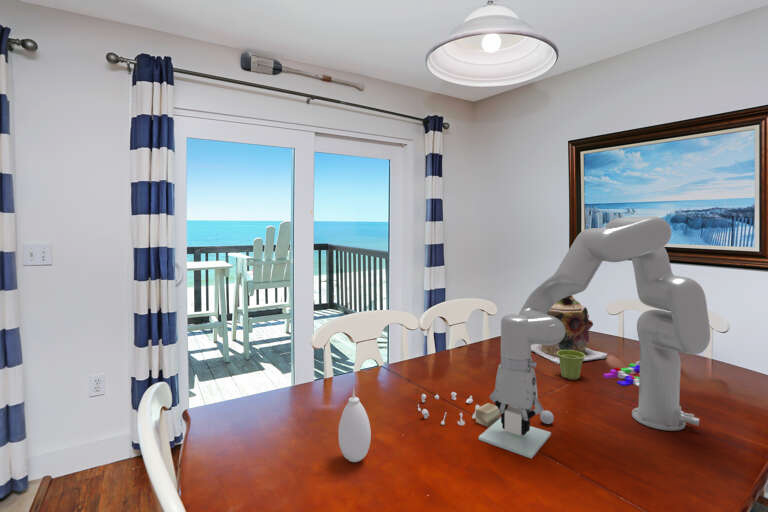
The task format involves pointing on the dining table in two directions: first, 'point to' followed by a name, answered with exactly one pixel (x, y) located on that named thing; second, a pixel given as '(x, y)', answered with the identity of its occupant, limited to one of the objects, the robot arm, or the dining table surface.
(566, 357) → the plant pot
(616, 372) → the building block set
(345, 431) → the white air blower bulb
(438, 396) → the game piece set
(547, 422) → the grey ball
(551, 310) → the cookie jar
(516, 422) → the cream block
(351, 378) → the dining table surface
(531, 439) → the seafoam tile
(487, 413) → the sand wood block
